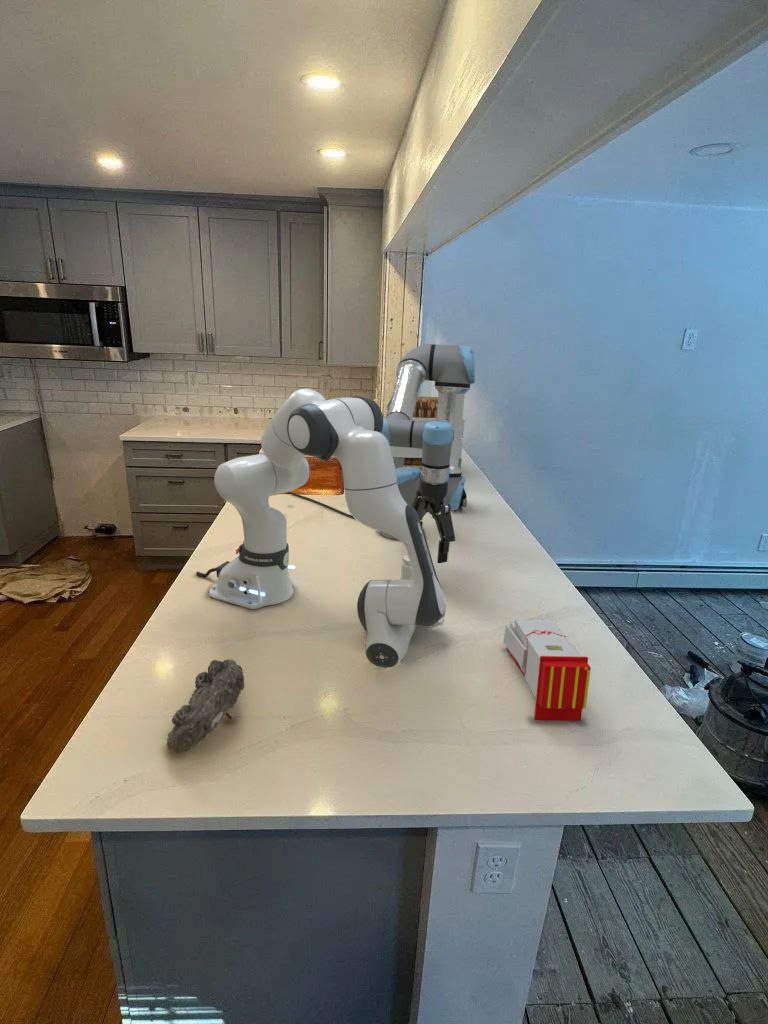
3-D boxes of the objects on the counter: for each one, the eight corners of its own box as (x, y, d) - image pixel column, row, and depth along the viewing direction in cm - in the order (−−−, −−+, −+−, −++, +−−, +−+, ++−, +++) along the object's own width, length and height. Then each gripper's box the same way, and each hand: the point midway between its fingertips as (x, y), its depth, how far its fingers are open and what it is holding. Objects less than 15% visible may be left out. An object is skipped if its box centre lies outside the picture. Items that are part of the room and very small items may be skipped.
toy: (549, 604, 136) (599, 663, 106) (544, 656, 138) (591, 727, 109) (499, 603, 135) (535, 662, 106) (495, 655, 138) (529, 726, 109)
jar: (420, 613, 148) (424, 555, 142) (413, 623, 144) (417, 563, 138) (402, 609, 150) (405, 552, 144) (395, 618, 145) (398, 559, 140)
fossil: (192, 660, 117) (244, 628, 112) (224, 691, 120) (276, 661, 115) (142, 746, 98) (202, 712, 93) (182, 779, 101) (242, 748, 96)
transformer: (382, 463, 289) (386, 382, 275) (445, 464, 293) (451, 384, 279) (390, 482, 257) (394, 392, 243) (460, 483, 261) (468, 394, 247)
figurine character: (467, 516, 223) (461, 500, 237) (469, 499, 220) (463, 483, 233) (450, 516, 223) (446, 499, 236) (452, 498, 220) (447, 483, 233)
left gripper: (443, 614, 129) (451, 587, 142) (357, 601, 134) (372, 576, 146) (441, 638, 132) (449, 610, 144) (356, 624, 136) (371, 597, 149)
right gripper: (399, 469, 160) (396, 537, 168) (448, 497, 140) (442, 573, 148) (422, 466, 164) (417, 533, 171) (473, 493, 143) (465, 568, 151)
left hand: (409, 592), depth 145 cm, fingers closed on jar, 5 cm apart
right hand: (429, 552), depth 160 cm, fingers open, 13 cm apart
